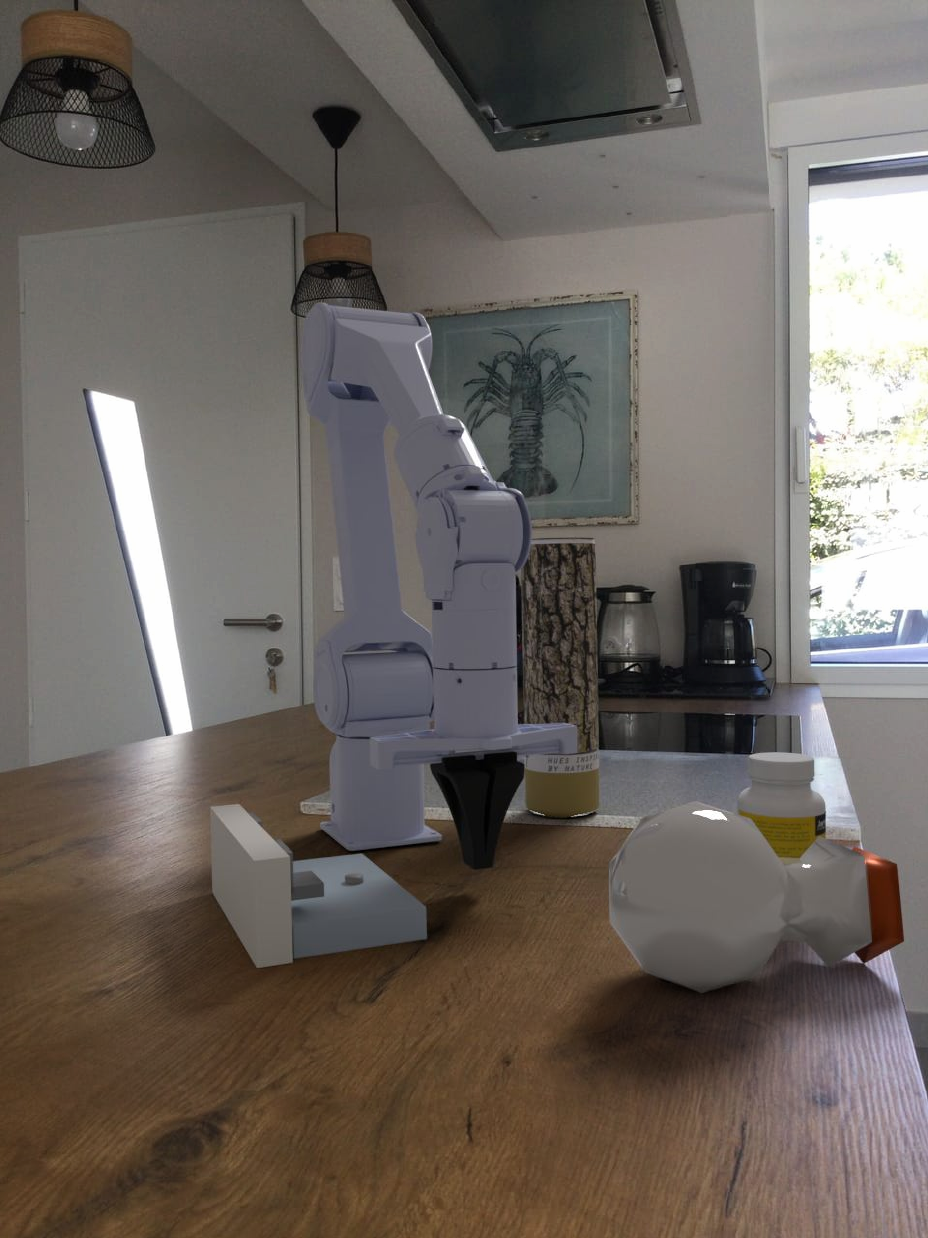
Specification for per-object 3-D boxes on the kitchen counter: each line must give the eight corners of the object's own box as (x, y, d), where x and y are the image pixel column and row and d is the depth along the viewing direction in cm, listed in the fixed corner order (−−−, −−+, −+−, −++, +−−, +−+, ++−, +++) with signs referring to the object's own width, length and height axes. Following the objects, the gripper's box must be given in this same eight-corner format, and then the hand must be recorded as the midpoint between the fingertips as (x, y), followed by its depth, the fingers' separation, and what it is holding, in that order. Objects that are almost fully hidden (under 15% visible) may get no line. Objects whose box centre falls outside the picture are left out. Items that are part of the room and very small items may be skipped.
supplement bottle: (832, 926, 64) (831, 764, 63) (739, 922, 65) (738, 763, 65) (820, 899, 69) (819, 750, 69) (735, 896, 70) (733, 749, 70)
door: (251, 900, 73) (250, 860, 73) (362, 886, 76) (361, 848, 76) (294, 966, 60) (293, 918, 60) (427, 947, 63) (426, 900, 63)
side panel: (212, 892, 73) (210, 806, 73) (275, 884, 75) (273, 800, 75) (257, 968, 58) (254, 860, 58) (334, 956, 60) (331, 851, 60)
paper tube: (612, 808, 98) (607, 538, 97) (579, 823, 92) (574, 536, 92) (547, 801, 102) (542, 541, 101) (511, 815, 96) (506, 539, 95)
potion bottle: (589, 1009, 55) (844, 1012, 59) (660, 952, 48) (949, 960, 51) (571, 843, 61) (805, 854, 64) (632, 767, 53) (895, 784, 56)
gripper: (391, 677, 65) (395, 894, 66) (597, 666, 71) (600, 867, 71) (359, 668, 72) (363, 866, 72) (550, 659, 77) (553, 843, 78)
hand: (478, 865), depth 72 cm, fingers closed
